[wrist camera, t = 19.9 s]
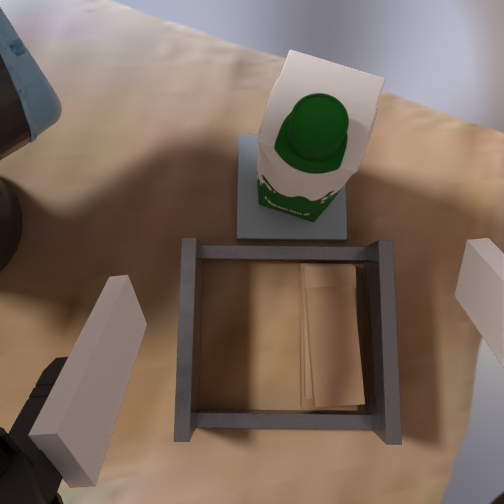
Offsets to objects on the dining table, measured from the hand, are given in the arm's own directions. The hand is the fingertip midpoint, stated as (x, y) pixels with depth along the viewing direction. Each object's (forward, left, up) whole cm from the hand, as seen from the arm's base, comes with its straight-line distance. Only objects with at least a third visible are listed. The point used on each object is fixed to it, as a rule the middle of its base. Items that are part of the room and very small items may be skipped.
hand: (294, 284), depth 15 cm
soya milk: (+3, +14, -29) cm, 32 cm away
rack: (+2, -4, -30) cm, 30 cm away
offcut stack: (+7, -4, -30) cm, 31 cm away
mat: (+3, +14, -30) cm, 33 cm away
